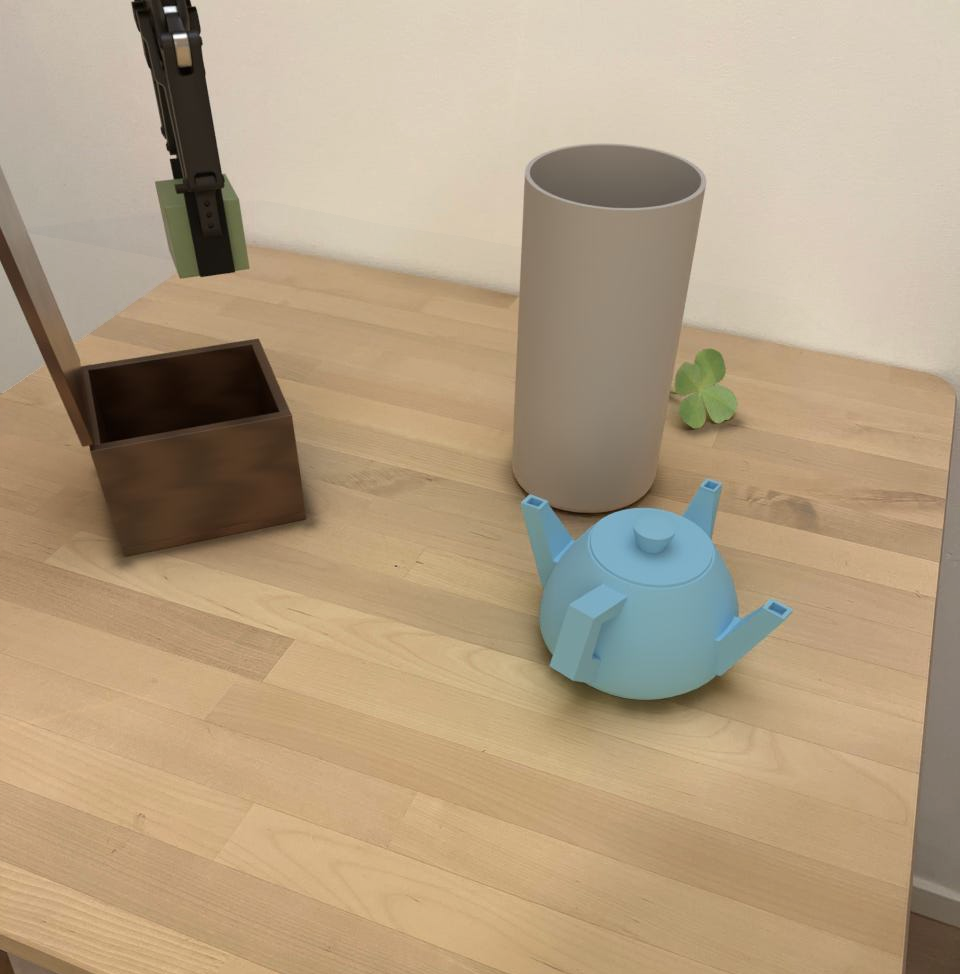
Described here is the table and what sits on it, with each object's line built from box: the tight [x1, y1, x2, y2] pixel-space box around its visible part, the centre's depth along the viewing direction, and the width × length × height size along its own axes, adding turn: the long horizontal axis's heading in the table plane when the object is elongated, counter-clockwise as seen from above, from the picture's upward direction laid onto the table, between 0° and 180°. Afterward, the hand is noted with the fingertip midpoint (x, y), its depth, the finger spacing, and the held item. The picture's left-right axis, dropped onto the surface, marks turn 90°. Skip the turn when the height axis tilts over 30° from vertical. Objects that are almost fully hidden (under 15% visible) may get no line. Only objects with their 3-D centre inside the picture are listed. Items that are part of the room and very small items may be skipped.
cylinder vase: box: [511, 143, 707, 514], centre depth 76 cm, size 12×12×25 cm
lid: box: [0, 165, 93, 448], centre depth 67 cm, size 16×13×1 cm
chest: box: [81, 338, 307, 557], centre depth 78 cm, size 15×13×10 cm
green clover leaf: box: [670, 348, 739, 429], centre depth 92 cm, size 7×8×7 cm
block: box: [154, 173, 250, 279], centre depth 76 cm, size 6×6×6 cm
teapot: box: [520, 477, 794, 701], centre depth 66 cm, size 15×15×11 cm
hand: (210, 256), depth 78 cm, fingers closed on block, 5 cm apart
